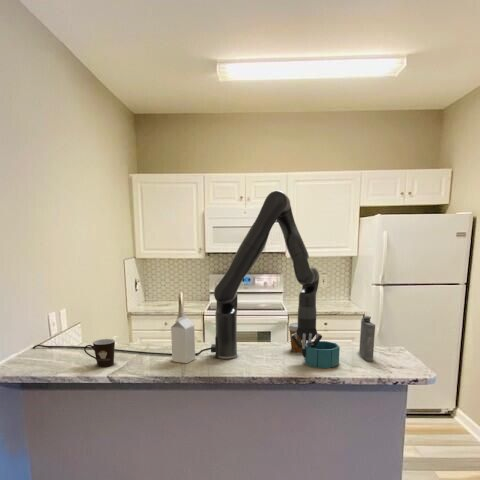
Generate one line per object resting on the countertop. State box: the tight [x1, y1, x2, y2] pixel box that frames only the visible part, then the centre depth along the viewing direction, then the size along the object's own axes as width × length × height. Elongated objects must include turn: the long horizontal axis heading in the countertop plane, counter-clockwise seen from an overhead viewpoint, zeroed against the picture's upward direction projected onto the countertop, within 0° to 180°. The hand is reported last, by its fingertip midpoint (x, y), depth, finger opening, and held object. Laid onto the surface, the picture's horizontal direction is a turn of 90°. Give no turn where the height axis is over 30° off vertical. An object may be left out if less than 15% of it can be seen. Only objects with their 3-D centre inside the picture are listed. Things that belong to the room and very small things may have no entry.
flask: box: [358, 315, 376, 363], centre depth 176 cm, size 4×14×18 cm, turn 177°
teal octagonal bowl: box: [303, 340, 341, 369], centre depth 169 cm, size 14×14×8 cm
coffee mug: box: [83, 338, 116, 368], centre depth 167 cm, size 12×9×10 cm
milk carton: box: [170, 315, 196, 364], centre depth 172 cm, size 7×7×19 cm
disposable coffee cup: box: [288, 322, 307, 353], centre depth 187 cm, size 10×10×12 cm
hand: (306, 356), depth 169 cm, fingers closed on teal octagonal bowl, 1 cm apart
